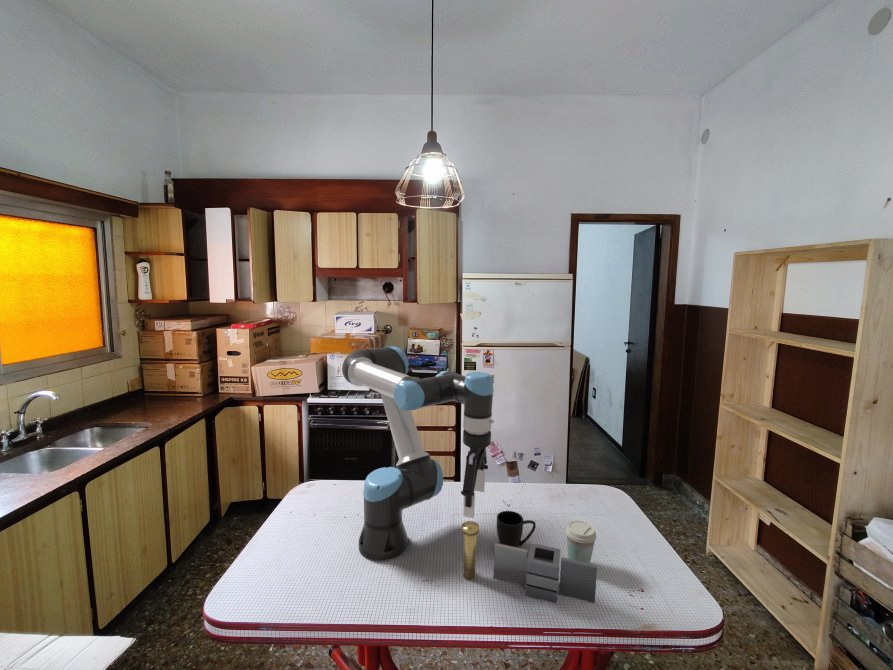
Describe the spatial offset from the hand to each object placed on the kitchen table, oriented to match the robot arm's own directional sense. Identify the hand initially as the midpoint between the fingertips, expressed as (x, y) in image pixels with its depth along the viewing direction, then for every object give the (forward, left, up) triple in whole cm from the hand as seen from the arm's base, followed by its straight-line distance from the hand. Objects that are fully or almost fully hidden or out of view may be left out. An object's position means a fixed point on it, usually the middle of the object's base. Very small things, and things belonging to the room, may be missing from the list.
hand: (474, 503), depth 113 cm
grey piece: (+15, +1, -21) cm, 26 cm away
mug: (+10, +16, -22) cm, 29 cm away
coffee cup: (+29, +14, -22) cm, 39 cm away
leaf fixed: (+24, +1, -22) cm, 32 cm away
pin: (-1, -1, -22) cm, 22 cm away
